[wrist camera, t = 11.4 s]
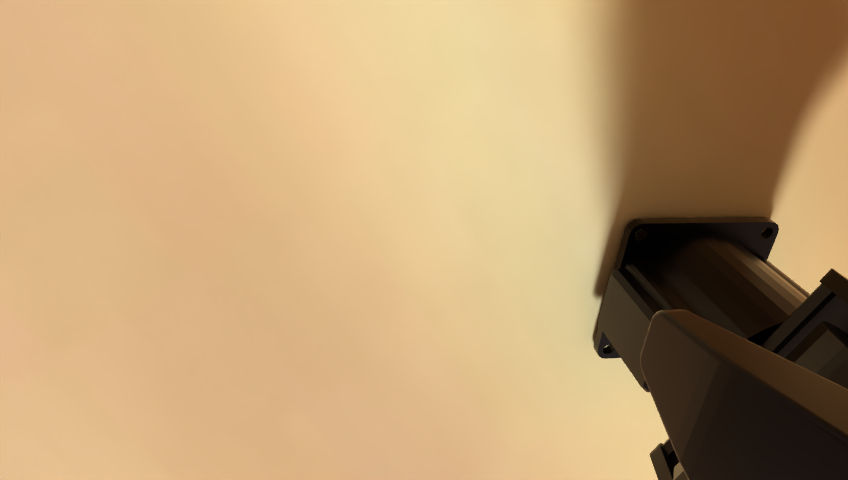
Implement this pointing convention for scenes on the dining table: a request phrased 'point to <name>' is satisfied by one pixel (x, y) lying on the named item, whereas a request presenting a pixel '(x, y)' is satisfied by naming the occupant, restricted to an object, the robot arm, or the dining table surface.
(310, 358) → the dining table surface
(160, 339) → the dining table surface
